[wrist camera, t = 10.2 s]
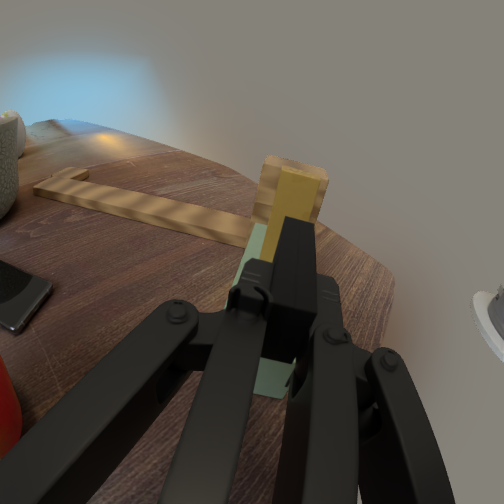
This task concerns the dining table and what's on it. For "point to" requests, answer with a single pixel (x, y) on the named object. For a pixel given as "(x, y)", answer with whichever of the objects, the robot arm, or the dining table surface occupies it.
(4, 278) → the smartphone
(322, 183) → the wooden beam with block
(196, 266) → the dining table surface
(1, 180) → the planter
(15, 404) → the apple
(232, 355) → the robot arm
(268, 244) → the bolt
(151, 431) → the dining table surface
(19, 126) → the decorative egg
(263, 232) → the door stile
